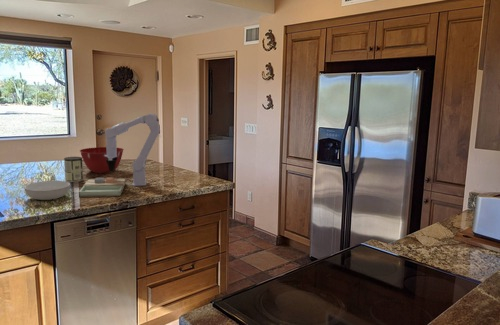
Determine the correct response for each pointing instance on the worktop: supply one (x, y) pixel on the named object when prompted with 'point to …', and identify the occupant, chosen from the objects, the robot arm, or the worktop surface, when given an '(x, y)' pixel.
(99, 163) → the mixing bowl
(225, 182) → the worktop surface
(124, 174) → the worktop surface
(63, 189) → the serving bowl
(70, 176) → the coffee can
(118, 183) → the birch board
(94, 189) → the box
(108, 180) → the terracotta tile
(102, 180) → the slate tile
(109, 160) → the robot arm
